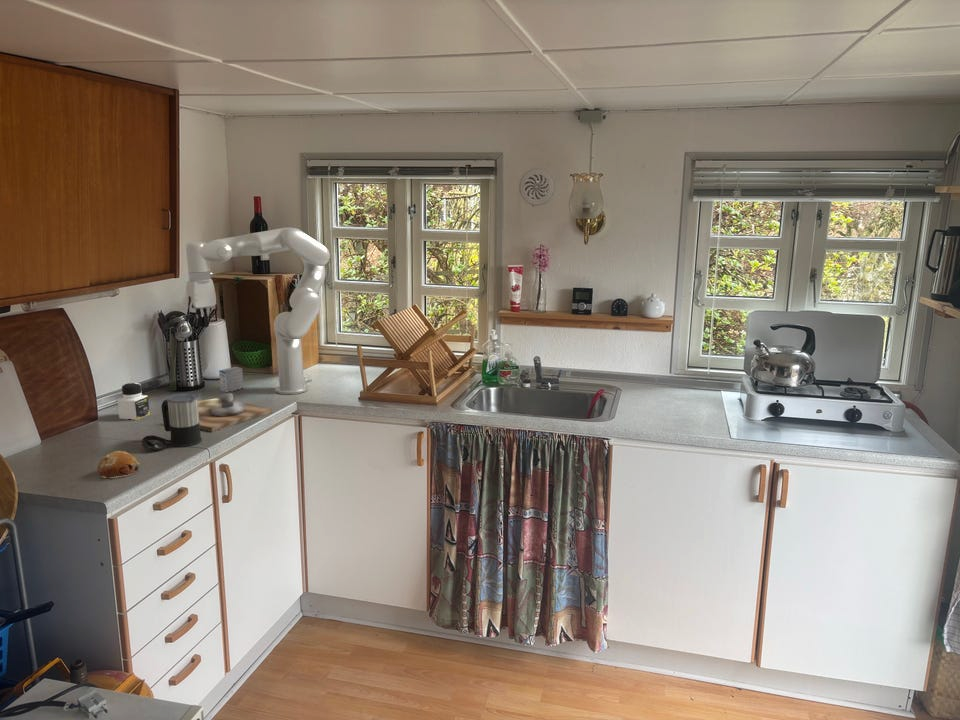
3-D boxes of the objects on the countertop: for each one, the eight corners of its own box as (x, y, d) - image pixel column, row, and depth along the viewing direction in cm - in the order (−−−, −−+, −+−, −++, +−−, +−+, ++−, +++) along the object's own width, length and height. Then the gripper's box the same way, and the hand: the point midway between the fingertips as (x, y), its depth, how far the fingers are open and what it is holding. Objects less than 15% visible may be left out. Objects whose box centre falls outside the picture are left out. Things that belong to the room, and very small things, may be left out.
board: (229, 404, 271) (229, 399, 271) (271, 412, 260) (271, 407, 260) (168, 422, 250) (168, 417, 249) (211, 431, 238) (211, 426, 238)
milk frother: (208, 439, 232) (204, 394, 228) (177, 455, 217) (172, 407, 214) (169, 436, 235) (164, 391, 232) (136, 452, 220) (130, 404, 217)
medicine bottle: (137, 420, 252) (133, 386, 249) (119, 419, 253) (115, 385, 251) (150, 414, 259) (146, 381, 256) (132, 413, 260) (128, 381, 257)
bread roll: (125, 477, 209) (112, 452, 209) (150, 466, 206) (137, 440, 205) (98, 490, 200) (85, 464, 200) (124, 478, 197) (110, 452, 196)
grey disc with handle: (239, 404, 264) (238, 388, 263) (249, 412, 254) (248, 395, 253) (181, 413, 253) (179, 397, 251) (189, 422, 243) (188, 405, 242)
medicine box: (237, 387, 296) (235, 366, 294) (244, 388, 294) (242, 367, 292) (220, 391, 290) (218, 370, 288) (227, 392, 288) (225, 371, 286)
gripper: (209, 274, 272) (213, 322, 276) (175, 278, 259) (180, 328, 263) (223, 275, 268) (227, 324, 272) (189, 279, 255) (193, 330, 259)
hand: (204, 326), depth 267 cm, fingers closed
